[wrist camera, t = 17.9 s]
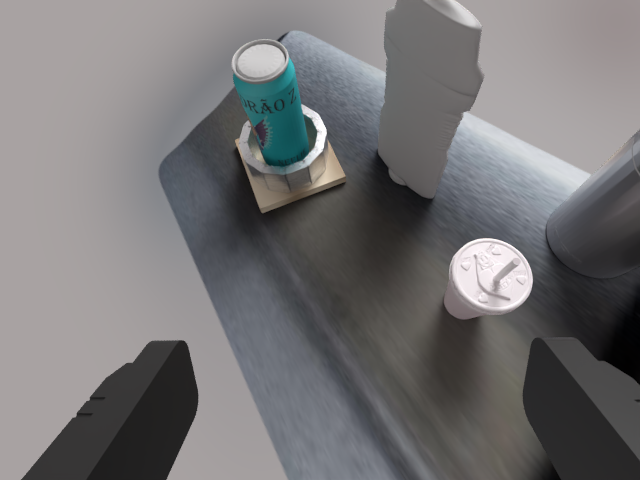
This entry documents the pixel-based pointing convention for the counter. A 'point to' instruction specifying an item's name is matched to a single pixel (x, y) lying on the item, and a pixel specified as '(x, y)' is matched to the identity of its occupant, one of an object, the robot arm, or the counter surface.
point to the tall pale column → (426, 87)
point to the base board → (276, 199)
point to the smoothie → (487, 279)
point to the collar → (295, 173)
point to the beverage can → (271, 101)
